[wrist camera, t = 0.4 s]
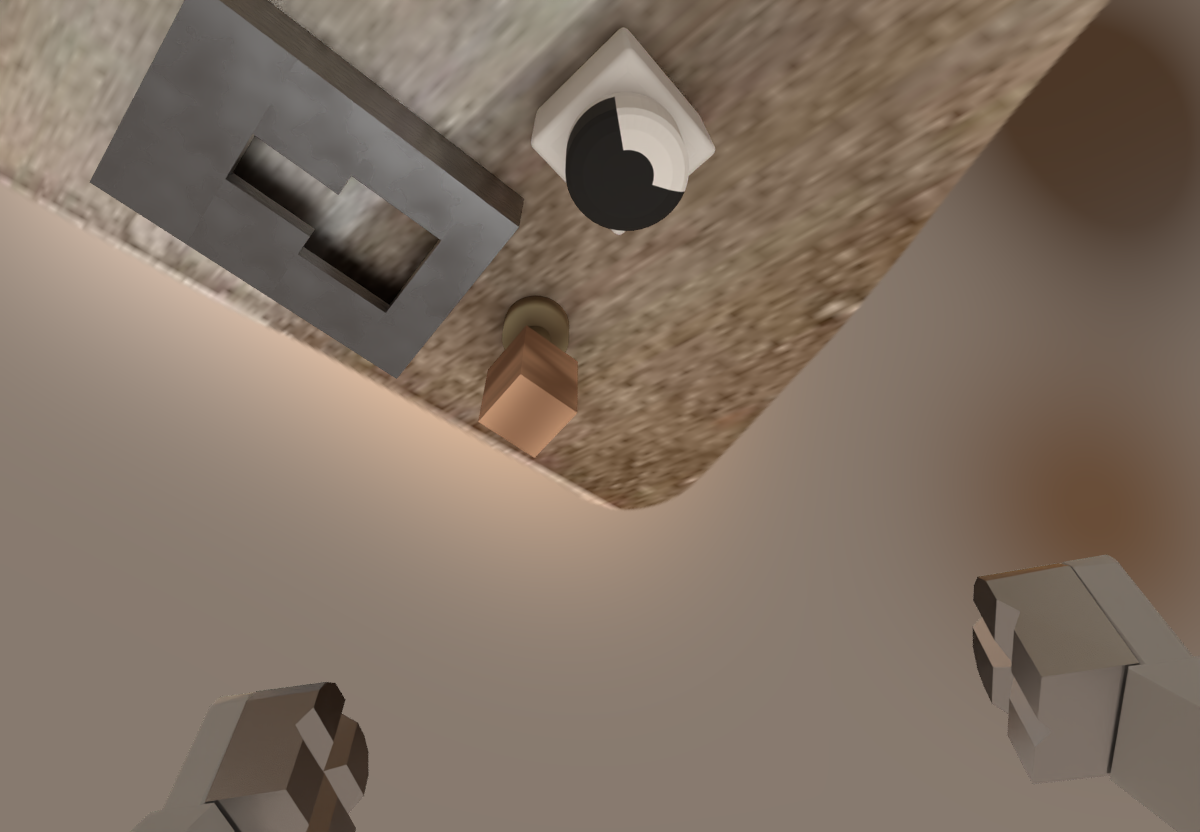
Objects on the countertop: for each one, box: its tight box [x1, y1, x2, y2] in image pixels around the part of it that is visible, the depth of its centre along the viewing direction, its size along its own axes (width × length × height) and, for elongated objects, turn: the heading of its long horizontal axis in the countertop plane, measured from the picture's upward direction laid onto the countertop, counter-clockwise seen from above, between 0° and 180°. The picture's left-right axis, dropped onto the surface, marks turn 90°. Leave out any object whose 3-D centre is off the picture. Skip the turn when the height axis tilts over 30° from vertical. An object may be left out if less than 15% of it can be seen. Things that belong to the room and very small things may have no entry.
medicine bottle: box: [531, 27, 715, 235], centre depth 46 cm, size 7×7×12 cm
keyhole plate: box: [90, 0, 524, 379], centre depth 51 cm, size 20×13×5 cm, turn 50°
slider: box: [478, 296, 578, 458], centre depth 54 cm, size 4×4×12 cm
